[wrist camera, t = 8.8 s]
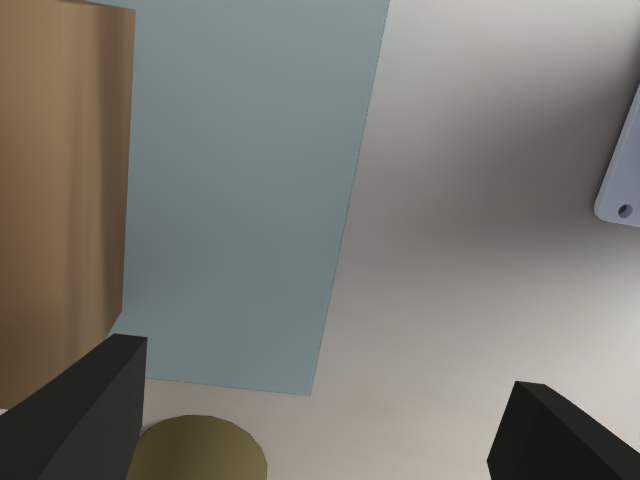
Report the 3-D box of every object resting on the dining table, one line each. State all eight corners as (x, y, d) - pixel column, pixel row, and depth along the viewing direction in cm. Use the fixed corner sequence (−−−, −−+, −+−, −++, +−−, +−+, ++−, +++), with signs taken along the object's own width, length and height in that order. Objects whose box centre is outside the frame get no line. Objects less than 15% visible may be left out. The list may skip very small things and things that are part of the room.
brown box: (136, 9, 16) (60, 2, 11) (121, 311, 19) (60, 414, 14) (5, -15, 15) (-138, -34, 10) (16, 298, 19) (-87, 400, 14)
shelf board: (455, -365, 14) (509, -493, 10) (309, 377, 22) (312, 442, 19) (-130, -525, 12) (-292, -735, 9) (-55, 335, 21) (-124, 398, 17)
